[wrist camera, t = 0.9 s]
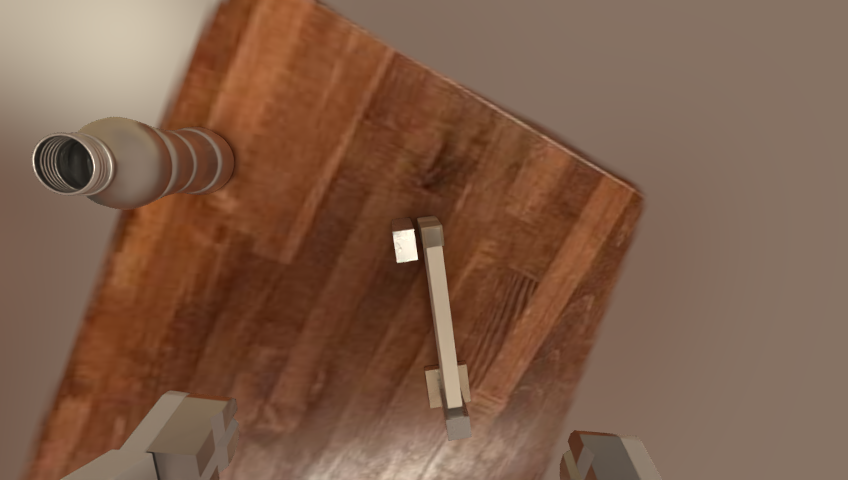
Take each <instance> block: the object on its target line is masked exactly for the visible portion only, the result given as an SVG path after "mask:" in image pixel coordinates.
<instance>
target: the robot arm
mask: <svg viewBox="0 0 848 480" xmlns="http://www.w3.org/2000/svg"><path fill="white" fill-rule="evenodd" d="M236 411H237V404H236V399H234V398H229V397H221V396H213V395H205V394H197V393H186V392H178V391H168V392H167V393H165V394H163V395H162V396H161V398H160V399H159V400H158V401H157V403H156V404H155V405H154V406H153V408H152V409H151V410H150V411H149V413H148V414H147V415H146V417H145V418H144V419H143V420H142V422H141V423H140V424H139V425H138V427H137V428H136V429H135V430H134V432H133V433H132V434H131V435H130V437H129V438H128V439H127V441H126V442H125V443H124V444H123V446H122V447H121V448H120V449H119V450H110V451H109V452H107V453H105V454H103V455H102V456H100V457H98V458H97V459H95V460H93V461H91V462H90V463H88V464H86V465H84V466H83V467H81V468H79V469H78V470H76V471H74V472H72V473H71V474H69V475H67V476H65V477H64V478H62V479H60V480H219V473H220V472H221V471H223V470H224V469H225V468H227V467H228V466H229V464H230V462H231V460H232V458H233V456H234V454H235V450H236V447H237V443H238V438H239V423H238V422H237V421H236V420H235V419H234V418H233V417H234V415H235V413H236ZM568 443H569V446H570V450H569V451H567V452H566V453H564V454H563V456H562V460H561V463H560V480H662V478H661V477H660V475H659V473H658V471H657V469H656V467H655V466H654V464H653V462H652V460H651V458H650V457H649V455H648V453H647V451H646V449H645V447H644V446H643V444H642V442H641V440H640V439H639V438H638V437H637V436H631V435H620V434H610V433H599V432H587V431H576V430H575V431H573V432H572V433H571V434H570V437H569V439H568Z"/></svg>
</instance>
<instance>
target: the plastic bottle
mask: <svg viewBox="0 0 848 480" xmlns="http://www.w3.org/2000/svg"><path fill="white" fill-rule="evenodd" d="M32 168H33V171H34V173H35V175H36V177H37V178H38V180H39V182H40V183H41V184H42V185H43V186H44V187H46V188H47V189H48V190H50V191H52V192H54V193H57V194H60V195H68V196H71V195H80V196H86V197H87V198H89V199H90V200H91V201H94V202H95V203H97V204H100V205H103V206H107V207H110V208H115V209H123V210H126V209H134V208H138V207H141V206H144V205H148V204H149V203H151V202H154V201H156V200H158V199H160V198H162V197H164V196H166V195H170V194H174V193H187V194H196V195H202V194H208V193H212V192H214V191H216V190H218V189H219V188H220V187H222V186H223V185H224V184H226V182H227V181H228V180H229V179H230V177H231V175H232V172H233V169H234V157H233V153H232V150H231V148H230V146H229V145H228V143H227V142H226V141H225V140H224V139H223V138H222V137H221V136H219V135H218V134H216V133H214V132H212V131H211V130H208V129H205V128H201V127H188V128H182V129H179V130H174V131H167V130H162V129H157V128H154V127H151V126H149V125H146V124H143V123H141V122H138V121H135V120H131V119H127V118H121V117H109V118H104V119H100V120H97V121H94V122H91V123H90V124H87V125H86V126H84V127H83V128H82V129H80V130H79V131H78V132H76V133H54V134H50V135H47V136H45V137H44V138H42V139H41V140H40V141H39V142H38V143H37V144H36V146H35V147H34V150H33V152H32Z"/></svg>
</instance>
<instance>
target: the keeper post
mask: <svg viewBox="0 0 848 480" xmlns="http://www.w3.org/2000/svg"><path fill="white" fill-rule="evenodd" d="M392 225H393V238H394V244H395V251H396V258H397V263H400V262H406V261H413V260H418V256H417V249H416V242H415V235H414V229H413V225H412V222H411V219H410V217H408V218H401V219H394V220H392Z"/></svg>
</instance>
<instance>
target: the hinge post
mask: <svg viewBox="0 0 848 480" xmlns="http://www.w3.org/2000/svg"><path fill="white" fill-rule="evenodd" d="M457 367H458V375H459V383H460V391H461V399H462V406H460V407H454V408H448V405H447V401H446V397H445V392H444V388H443V383H442V379H441V374H440V366H439V365H434V366H428V367H425V374H426V380H427V387H428V394H429V401H430V408H435V407H441V406H442V410H443V415H444V420H445V425H446V430H447V435H448V440H449V441H451V440H457V439H463V438H469V437H472V436H471V428H470V420H469V414H468V411H467V408H466V404H465V402H471V399H470V390H469V382H468V374H467V366H466V362H465V361H459V362H457Z"/></svg>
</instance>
